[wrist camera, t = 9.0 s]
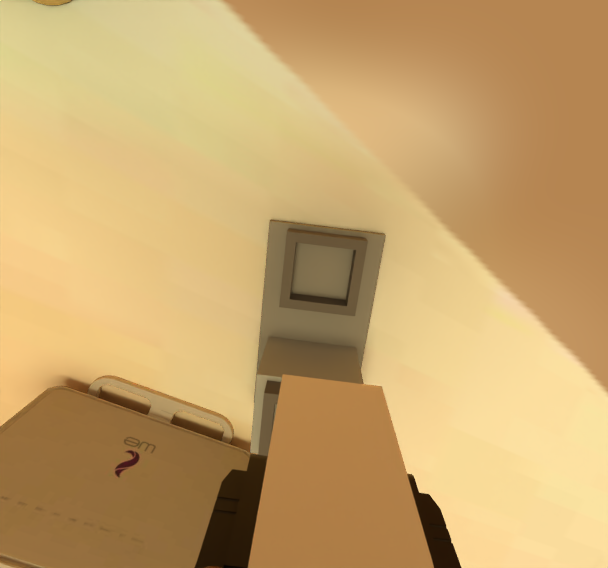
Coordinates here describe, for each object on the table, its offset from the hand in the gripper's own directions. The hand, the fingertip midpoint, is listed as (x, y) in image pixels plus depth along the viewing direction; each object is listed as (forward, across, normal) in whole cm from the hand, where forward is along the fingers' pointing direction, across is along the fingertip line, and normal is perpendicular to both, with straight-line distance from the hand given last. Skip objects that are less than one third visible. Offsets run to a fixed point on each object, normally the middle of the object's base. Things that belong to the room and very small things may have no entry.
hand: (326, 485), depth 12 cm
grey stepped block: (+29, 0, +7) cm, 29 cm away
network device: (+29, +18, +23) cm, 41 cm away
